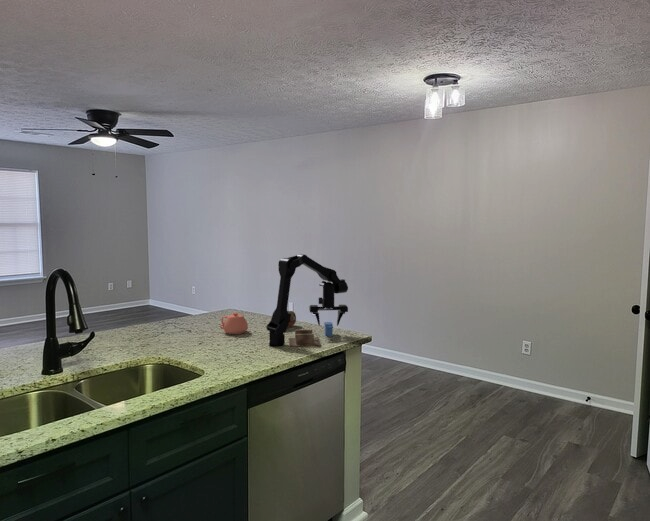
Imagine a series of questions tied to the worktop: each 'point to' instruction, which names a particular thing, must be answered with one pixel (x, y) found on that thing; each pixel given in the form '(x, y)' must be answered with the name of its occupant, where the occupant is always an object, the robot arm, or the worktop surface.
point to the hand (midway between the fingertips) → (328, 325)
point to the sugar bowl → (234, 324)
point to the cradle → (304, 339)
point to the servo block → (328, 329)
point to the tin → (292, 319)
